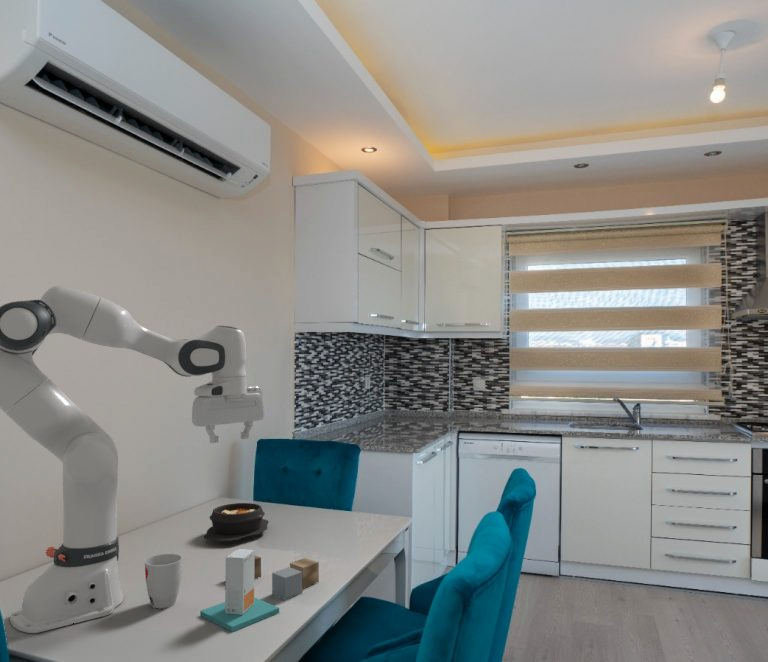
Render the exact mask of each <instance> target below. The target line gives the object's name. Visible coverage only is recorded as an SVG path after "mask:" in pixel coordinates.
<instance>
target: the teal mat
mask: <svg viewBox="0 0 768 662" xmlns="http://www.w3.org/2000/svg"><path fill="white" fill-rule="evenodd" d="M199 613H200V615H199V616H200V617H203V618H204V619H205V620H208V621H210V622H212V623H214V624H216V625H217V626H220V627H222V628H225V629H226V630H227V631H229V632H232V633H233V632H236V631H238V630H241V629H243V628H245V627H248V626H250V625H252V624H255V623H257V622H259V621H262V620H265V619H267V618H269V617H272V616H275V615H277V614H279V613H280V607H278V606H276V605H273V604H271V603H269V602H266V601H264V600H262V599H259V598H257V597H255V596H254V605H253V606H251V607H250V608H249V609H248V610H247V611H246V612H245V613H244V614H243V615H237V614H226V613H225V601H223V602H221V603H218V604H215V605H213V606H210V607H207V608H205V609H202V610H200V612H199Z"/></svg>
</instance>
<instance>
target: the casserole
mask: <svg viewBox="0 0 768 662" xmlns="http://www.w3.org/2000/svg"><path fill="white" fill-rule="evenodd" d="M262 508H263V507H262V506H261V505H260V504H257V503H253V502H252V503H251V502H250V503H249V502H240V503H239V502H238V503H237V502H235V503H230V504H223V505H220V506H217V507H215V508H214V509H213V510H212V511H211V512H212V513H211V514H210V516H209V520H210V521H211V524H212V525H211V527H209V528H208V529H207V530H206V534H205V535H203V539H204V540H206V541H211V542H220V543H221V542H235V541H239V540H240V539H241V540H244V539H245V540H246V539H249V538H253V537H254V536H256V535H260V534H262V533H263V532H265V531H266V530H268V525H269V523H270V521H269V520H268V519H265V518H263V517H264V516H265V511H264V510H263V509H262Z"/></svg>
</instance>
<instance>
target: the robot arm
mask: <svg viewBox="0 0 768 662" xmlns="http://www.w3.org/2000/svg"><path fill="white" fill-rule="evenodd" d="M51 334H64V335H68V336H71V337H74V338H75V339H76V338H77V339H78V340H81V341H84V342H87V343H91V344H94V345H98V346H102V347H109V348H117V349H126V350H132V351H135V352H138V353H141V354H143V355H145V356H148V357H151V358H153V359H156V360H158V361H161V362H162V363H164V364H166V366H168V367H169V368H170V369H171V370H172V371H173V372H174V373H175V374H177V375H179V376H181V377H186V378H187V377H200V376H204V375H207V374H211V377H212V379H211V381H209V382H206V383H205V384H202V385H200V386H197V387H195V388H194V392H193V393H194V396H195V398H194V400H193V403H192V407H191V408H192V409H191V410H192V411H191V422H192V424H193V425H194V426H195V427H201V428H202V427H205V431H206V433H207V435H208V436H209V443H210V444H217V443H219V435H216V433H215V429H216V426H219V425H228V424H237V423H243V425H244V429H243V431H240V439H241V440H249V439H250V431H251V430H252V428H253V424H254V423H253V422H256V421H263V420H264V419H263V418H264V417H265V407H264V401H263V400H264V399H263V390H262V389H261V388H260V387H258V386H256V385H255V386H248V382H247V380H248V378H247V377H248V376H247V374H248V373H247V371H246V363H247V359H248V357H247V354H248V353H247V343H246V336H245V333H244V332H243V331H242V329H240V328H237V327H235V326H234V327H233V326H226V325H217V326H215V327H214V328H213V329H211V330H209V331H207V332H206V333H204V334H202V335H199V336H196V337H194V338H191V339H176V338H174V339H173V338H171V337H168V336H165V335H162V334H161V333H158V332H155V331H153V330H150V329H147V328H146V327H144V326H143V325H141V324H139V323H138V322H137V321H136V320H135V319H134V318H133V316H132V315H131V313H130V312H129V311H128V310H127V309H126V308H124V307H122V306H121V305H119V304H117V303H115V302H113V301H112V300H110V299H107V298H105V297H102V296H99V295H97V294H94V293H91V292H88V291H85V290H82V289H77V288H75V287H74V288H73V287H70V286H65V285H55V286H52V287H50V288H49V289H48V290H46V291H45V292H44V294H42V296H41V297H40V299H31V300H17V301H11V302H8V303H5V304H2V305H1V306H0V409H1V411H2V412H3V413H5V414H6V416H8V417H9V418H10V419H11V421H13V423H15V424H16V425H17V426H18V427H20V428H21V430H22V431H24V432H25V434H27V435H28V436H29V437H30V438H31V439H32V440H34V441H36V442H37V443H38V444H39V445H41V446H42V447H44V448H45V449H46V450H47V451H48V452H50V453H51V454H53V456H55V457H56V458H57V459H58V460H59V461H61V462H62V502H63V504H62V505H63V506H62V507H63V509H62V510H63V512H62V513H63V514H62V516H63V518H62V520H63V521H62V522H63V523H62V526H63V527H62V531H63V532H62V535H63V536H62V544H61V545H60V546H59V547H58V548H55V547H54V546H50V547H47V549H46V550H45V552H44V553H45V555H46V556H47V557H49V558H52V559H53V563H52V565H51V566H49V567H48V569H46V570H45V571H44V572H43V573H41V574H40V575H39V576H38V577H37V578H36V579H35V580H34V581H33V582H31V584H29V585H28V586H27V588H26V589H25V591H24V594H23V595H24V596H23V600H22V607H21V608H18V609H15V610H13V611H12V612H11V614H10V618H9V623H10V625H12V627H13V628H15V630H18V631H21V632H22V633H29V634H37V633H42V632H46V631H50V630H54V629H59V628H62V627H66V626H69V625H73V623H74V624H77V623H83V622H85V621H90V620H93V619H97V618H98V619H99V618H100V617H106V616H109V615H111V614H112V613H113V611H114V610H115V608H116V607H118V606H119V605H120V604H122V603H123V601H124V598H125V595H124V592H123V590H122V585H121V582H120V576H119V568H118V567H119V564H118V561H119V555H120V544H119V537H118V536H117V531H118V528H117V526H118V524H117V522H118V520H117V519H118V517H117V515H118V513H117V512H118V511H117V509H118V505H117V504H118V502H117V501H118V480H119V479H118V475H119V474H118V473H119V455H118V454H119V453H118V450H117V449H118V448H117V447H116V444H115V441H114V439H113V438H112V436H110V435H109V434H108V433H107V432H106V431H105V430H104V429H103V428H102V427H101V426H100V425H99V424H98V423H97V422H96V421H94V420H93V419H92V418H91V417H90V416H89V415H88V414H86V413H85V411H83V409H81V408H80V407H79V406H78V405H77V404H76V403H75V402H73V400H71V399H70V398H69V397H68V396H67V394H65V393H64V392H63V391H62V390H61V389H60V388H59V386H57V385H56V384H55V383H54V382H53V381H52V380H51V379H50V378H49V377H48V376H47V375H46V374H45V373H44V372H42V370H40V368H38V366H37V364H36V363H35V361H34V360H33V356H34V354H35V353H36V352H37V350H38V348H39V347H40V346H42V344H43V343H44V341H45V339H46V337H48V336H49V335H51Z"/></svg>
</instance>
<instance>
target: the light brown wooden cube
mask: <svg viewBox="0 0 768 662" xmlns="http://www.w3.org/2000/svg"><path fill="white" fill-rule="evenodd" d="M319 563H320V562H319V561H316V560H314V559H310V558H307V557H304V558H301V559H298V560H294V561H291V562H290V563H289V567H290V568H293V569H296V570H298V571H301V572H302V589H305V588H308V587H310V586H309V585H311V586H313V585H315V584H314V583H316V582H318V583H319V581H320V579H319V572H320V571H319V570H320V568H319V567H320V565H319ZM312 584H313V585H312ZM316 584H317V583H316ZM307 586H308V587H307ZM304 587H305V588H304Z"/></svg>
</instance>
